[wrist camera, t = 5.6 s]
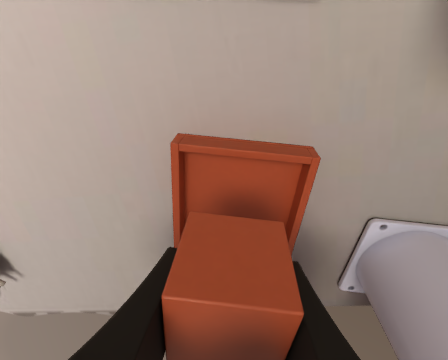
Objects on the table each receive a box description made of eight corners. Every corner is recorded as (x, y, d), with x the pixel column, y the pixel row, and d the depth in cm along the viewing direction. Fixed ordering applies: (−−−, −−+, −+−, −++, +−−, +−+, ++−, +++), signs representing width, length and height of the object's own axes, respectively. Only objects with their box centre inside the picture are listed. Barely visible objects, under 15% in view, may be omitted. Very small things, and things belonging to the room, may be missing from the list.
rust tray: (313, 146, 16) (321, 158, 14) (285, 246, 20) (288, 264, 18) (177, 132, 16) (170, 142, 14) (179, 234, 20) (173, 251, 19)
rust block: (284, 221, 10) (305, 314, 6) (267, 283, 12) (277, 381, 8) (189, 210, 10) (160, 296, 7) (188, 274, 12) (165, 366, 8)
